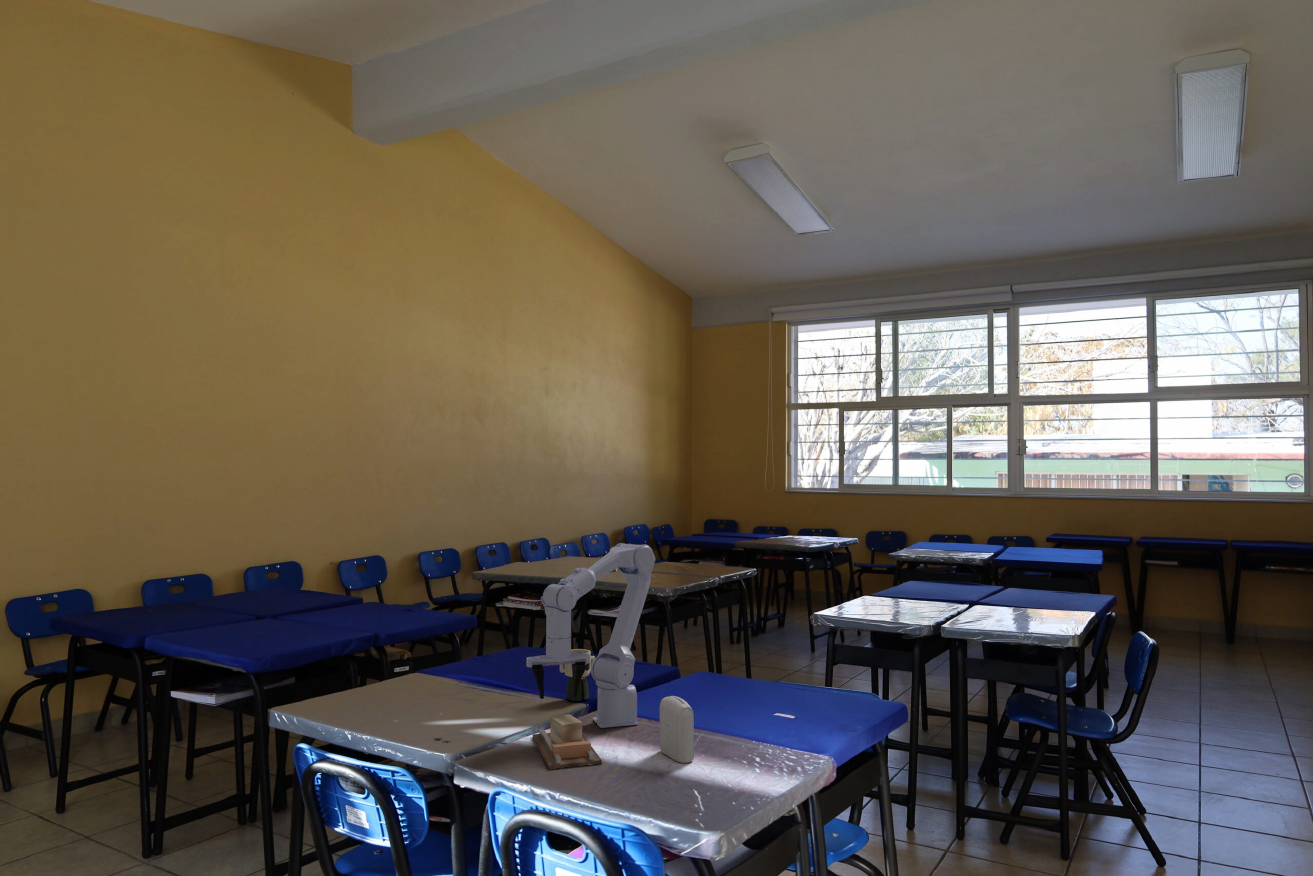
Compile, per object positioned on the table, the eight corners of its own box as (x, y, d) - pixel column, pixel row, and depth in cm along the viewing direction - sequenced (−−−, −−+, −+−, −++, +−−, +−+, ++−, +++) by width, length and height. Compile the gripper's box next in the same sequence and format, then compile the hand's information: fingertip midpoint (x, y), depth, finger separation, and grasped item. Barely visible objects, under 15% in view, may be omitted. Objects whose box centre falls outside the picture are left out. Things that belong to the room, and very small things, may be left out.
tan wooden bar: (588, 752, 172) (588, 740, 172) (590, 755, 170) (591, 743, 170) (551, 756, 169) (552, 744, 169) (553, 759, 167) (553, 747, 168)
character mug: (565, 706, 212) (566, 656, 213) (553, 700, 218) (553, 651, 219) (601, 699, 218) (601, 651, 219) (588, 694, 224) (588, 647, 225)
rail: (573, 731, 187) (573, 726, 187) (594, 760, 167) (594, 754, 167) (539, 734, 184) (539, 729, 185) (556, 764, 165) (556, 758, 165)
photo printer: (657, 750, 176) (657, 693, 176) (674, 748, 177) (674, 691, 178) (678, 765, 166) (678, 704, 167) (696, 762, 168) (696, 702, 169)
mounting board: (579, 733, 188) (579, 730, 188) (601, 764, 167) (601, 760, 167) (532, 738, 184) (532, 734, 184) (549, 769, 164) (549, 765, 164)
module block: (569, 741, 179) (569, 714, 180) (581, 750, 173) (582, 722, 174) (550, 744, 177) (550, 717, 177) (562, 753, 171) (562, 725, 171)
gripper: (585, 632, 192) (585, 690, 191) (524, 635, 187) (524, 694, 186) (592, 637, 185) (591, 697, 184) (529, 641, 181) (528, 702, 180)
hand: (558, 696), depth 185 cm, fingers open, 7 cm apart
